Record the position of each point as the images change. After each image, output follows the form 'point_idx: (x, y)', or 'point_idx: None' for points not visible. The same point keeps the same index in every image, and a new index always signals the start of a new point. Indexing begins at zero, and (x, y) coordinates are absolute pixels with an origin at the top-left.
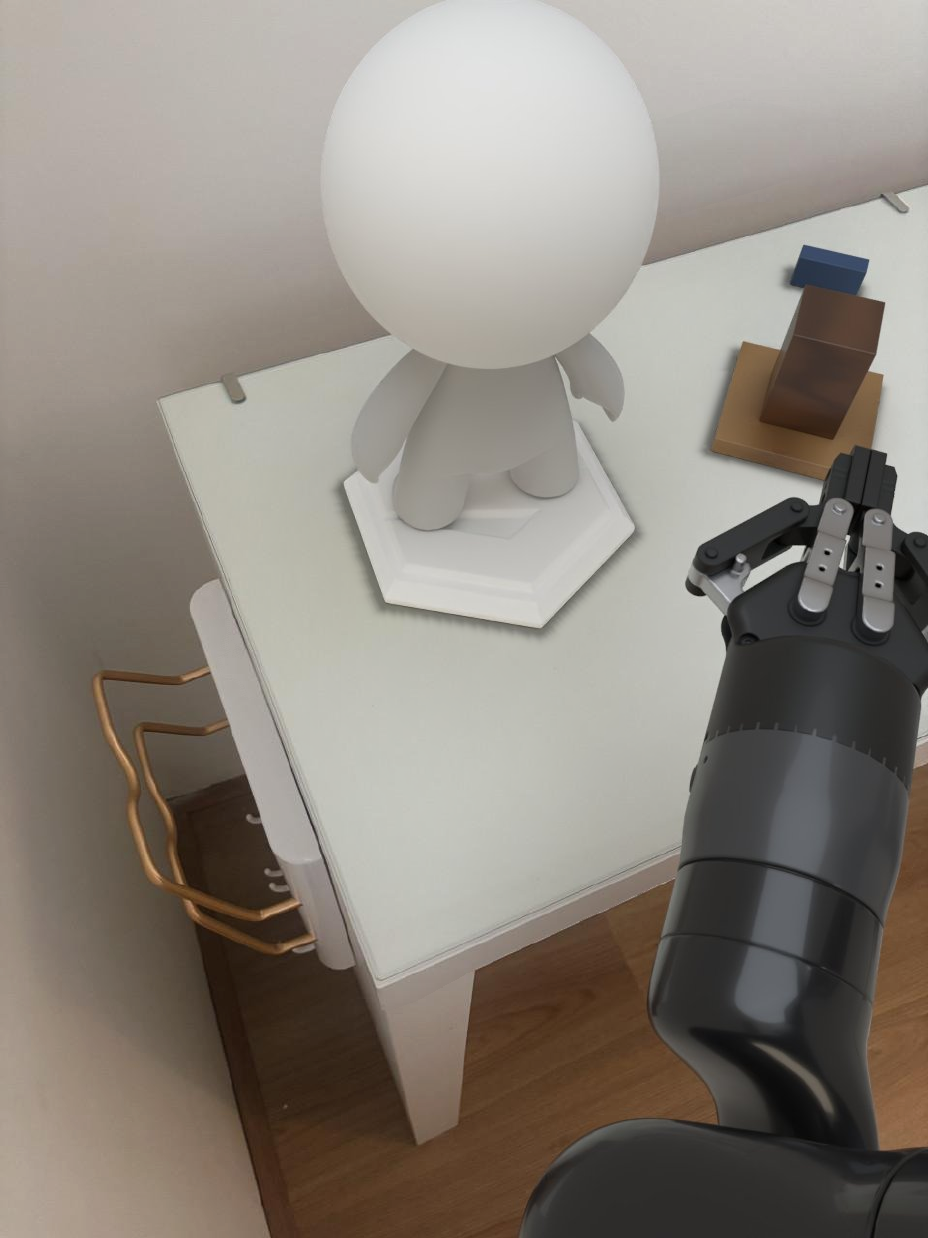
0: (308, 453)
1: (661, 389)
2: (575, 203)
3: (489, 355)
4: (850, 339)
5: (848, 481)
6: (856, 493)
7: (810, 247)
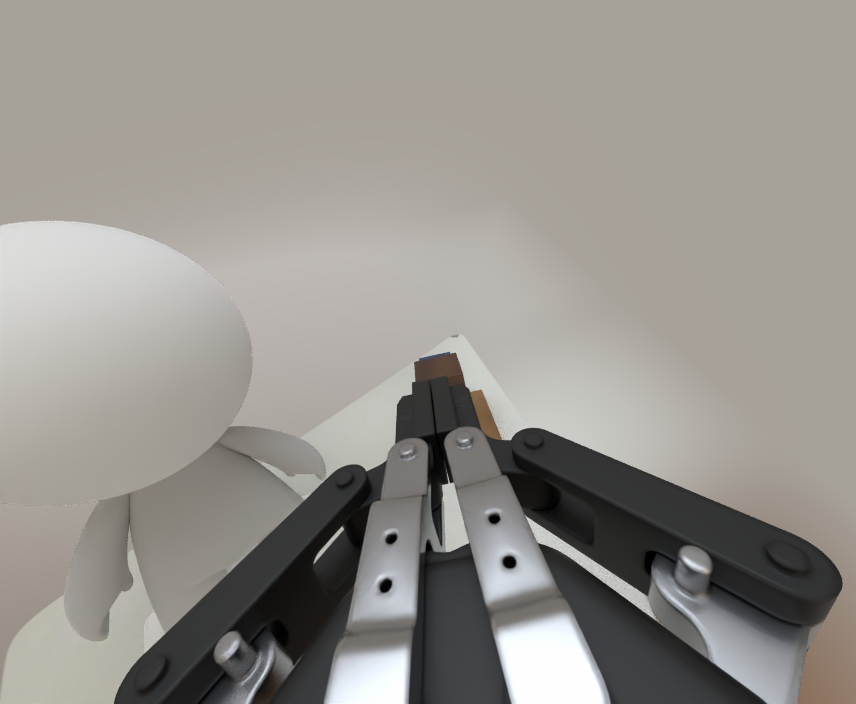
0: (123, 614)
1: (375, 448)
2: (75, 307)
3: (80, 478)
4: (446, 373)
5: (413, 416)
6: (426, 424)
7: (422, 358)
